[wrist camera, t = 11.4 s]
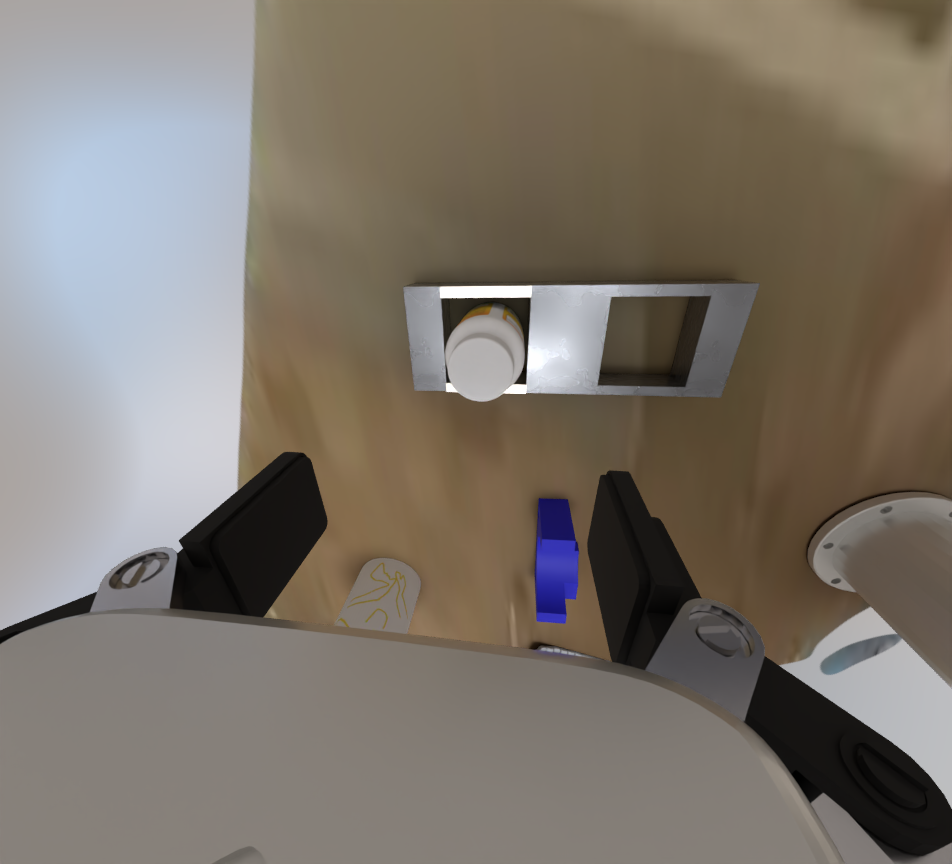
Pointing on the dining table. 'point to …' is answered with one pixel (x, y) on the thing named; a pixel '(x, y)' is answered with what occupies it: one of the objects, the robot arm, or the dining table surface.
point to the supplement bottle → (485, 352)
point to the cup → (382, 597)
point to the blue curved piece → (555, 560)
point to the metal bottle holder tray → (588, 334)
